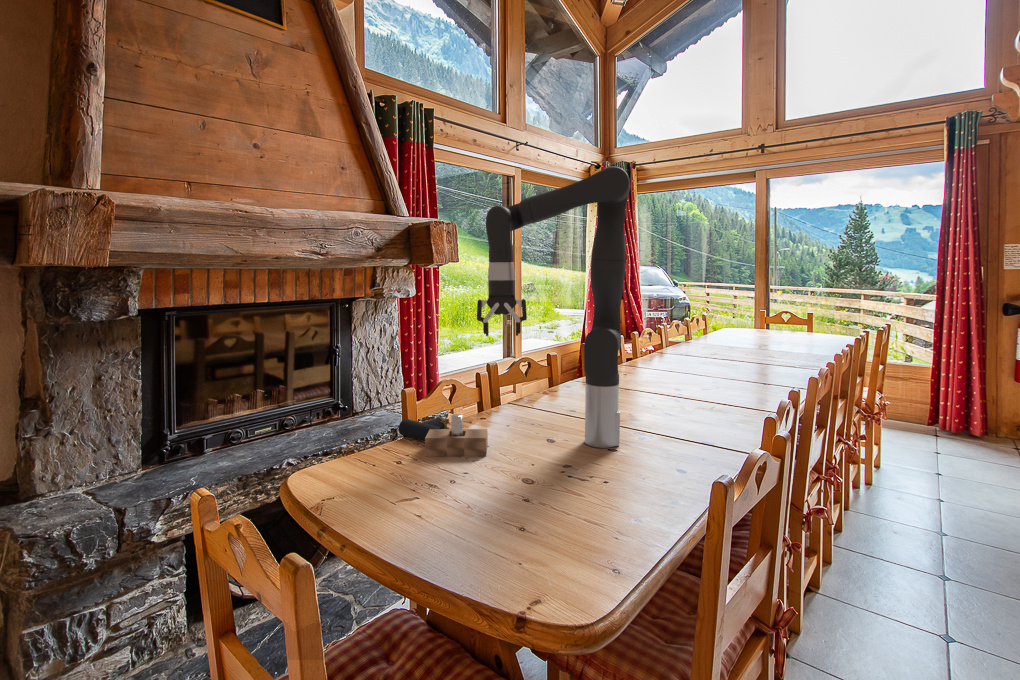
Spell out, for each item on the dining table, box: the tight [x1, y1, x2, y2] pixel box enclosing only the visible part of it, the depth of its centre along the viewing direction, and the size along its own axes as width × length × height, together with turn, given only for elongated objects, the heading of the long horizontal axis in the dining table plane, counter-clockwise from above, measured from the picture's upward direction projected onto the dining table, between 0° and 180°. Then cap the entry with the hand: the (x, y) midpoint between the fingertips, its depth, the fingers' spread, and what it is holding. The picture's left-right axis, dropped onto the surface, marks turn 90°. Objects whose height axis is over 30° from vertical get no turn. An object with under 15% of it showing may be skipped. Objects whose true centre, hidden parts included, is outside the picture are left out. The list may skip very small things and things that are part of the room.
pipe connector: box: [398, 416, 450, 443], centre depth 158 cm, size 12×5×15 cm
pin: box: [450, 413, 464, 436], centre depth 145 cm, size 3×3×10 cm
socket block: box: [424, 428, 489, 458], centre depth 145 cm, size 16×8×5 cm, turn 90°
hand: (502, 335), depth 154 cm, fingers open, 8 cm apart
